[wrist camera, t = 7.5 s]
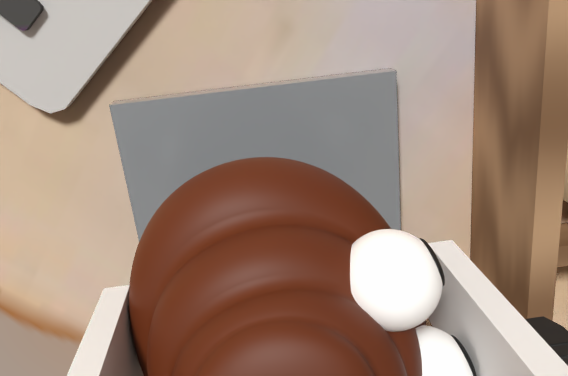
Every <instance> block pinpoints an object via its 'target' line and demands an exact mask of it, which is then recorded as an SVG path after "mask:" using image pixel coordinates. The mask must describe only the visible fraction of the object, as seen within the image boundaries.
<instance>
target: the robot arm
mask: <svg viewBox="0 0 568 376" xmlns="http://www.w3.org/2000/svg"><path fill="white" fill-rule="evenodd" d="M428 244H429V245H430V247H431V248H432V249H433V251H434V253H435V254H436V256H437V258H438V260H439V262H440V264H441V267H442V270H443V273H444V277H445V285H444V286H443V287H442V293H441V297H440V300H439V303H438V305H437V307H436V309H435V310H434V312H433V313H432V314H431V315H430V316H429V317H428V319H429V321H430V323H431V324H432V326H433V327H435V328H438V329H440V330H442V331H444V332H446V333H448V334H449V335H453V336H455V337H456V338H457V339H458V340H459V341H460V342H461V344H462V345H463V346H464V348H465V349H466V351H467V353H468V355H469V357H470V359H471V361H472V363H473V365H474V368H475V371H476V375H477V376H568V331H567V330H566V329H565V328H564V327H563V326H561V325H559V324H557V323H555V322H553V321H551V320H550V319H548V318H546V317H544V316H541V317H535V318H528V319H524V318H523V317H522V315H521V314H520V313H519V312H518V311H517V310H516V309H515V308H514V307H513V306H512V305H511V304H510V302H509V301H508V300H507V299H506V298H505V297H504V296H503V295H502V294H501V293H500V292H499V290H498V289H497V288H496V287H495V286H494V285H493V284H492V283H491V282H490V281H489V280H488V278H487V277H486V276H485V275H484V274H483V273H482V272H481V271H480V270H479V269H478V268H477V267H476V265H475V264H474V263H473V262H472V261H471V260H470V259H469V258H468V257H467V256H466V255H465V253H464V252H463V251H462V250H461V249H460V248H459V247H458V246H457V245H456V244H455V243H454V241H453V240H447V241H440V242H433V243H428ZM129 287H130V285H124V286H117V287H110V288H104V289H103V292H102V294H101V296H100V299H99V301H98V304H97V306H96V308H95V311H94V313H93V315H92V318H91V320H90V322H89V325H88V327H87V329H86V332H85V334H84V336H83V339H82V341H81V343H80V346H79V348H78V350H77V353H76V355H75V358H74V360H73V362H72V365H71V367H70V369H69V372H68V374H67V376H144V374H143V372H142V369H141V367H140V364H139V361H138V357H137V354H136V350H135V346H134V342H133V337H132V331H131V324H130V314H129Z"/></svg>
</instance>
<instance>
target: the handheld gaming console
mask: <svg viewBox="0 0 568 376" xmlns="http://www.w3.org/2000/svg"><path fill="white" fill-rule="evenodd" d="M152 1H153V0H0V83H1V84H2V85H4V86H5V87H6V88H8V89H9V90H10V91H12V92H13V93H14V94H16V95H17V96H18V97H20V98H21V99H22V100H24V101H25V102H27V103H28V104H29V105H31V106H34V107H36V108H38V109H41V110H43V111H45V112H48V113H54V112H57V111H60V110H63V109H66V108H67V107H69V106H70V105H71V104H72V103H73V101H74V100H75V99H76V98H77V96H78V95H79V94H80V92H81V91H82V90H83V89H84V87H85V86H86V85H87V84H88V82H89V81H90V80H91V78H92V77H93V76H94V75H95V73H96V72H97V71H98V70H99V68H100V67H101V66H102V64H103V63H104V62H105V61H106V59H107V58H108V57H109V55H110V54H111V53H112V52H113V50H114V49H115V48H116V47H117V45H118V44H119V43H120V41H121V40H122V39H123V38H124V36H125V35H126V34H127V32H128V31H129V30H130V29H131V27H132V26H133V25H134V24H135V22H136V21H137V20H138V18H139V17H140V16H141V15H142V13H143V12H144V11H145V9H146V8H147V7H148V6H149V4H150V3H151V2H152Z"/></svg>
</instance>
